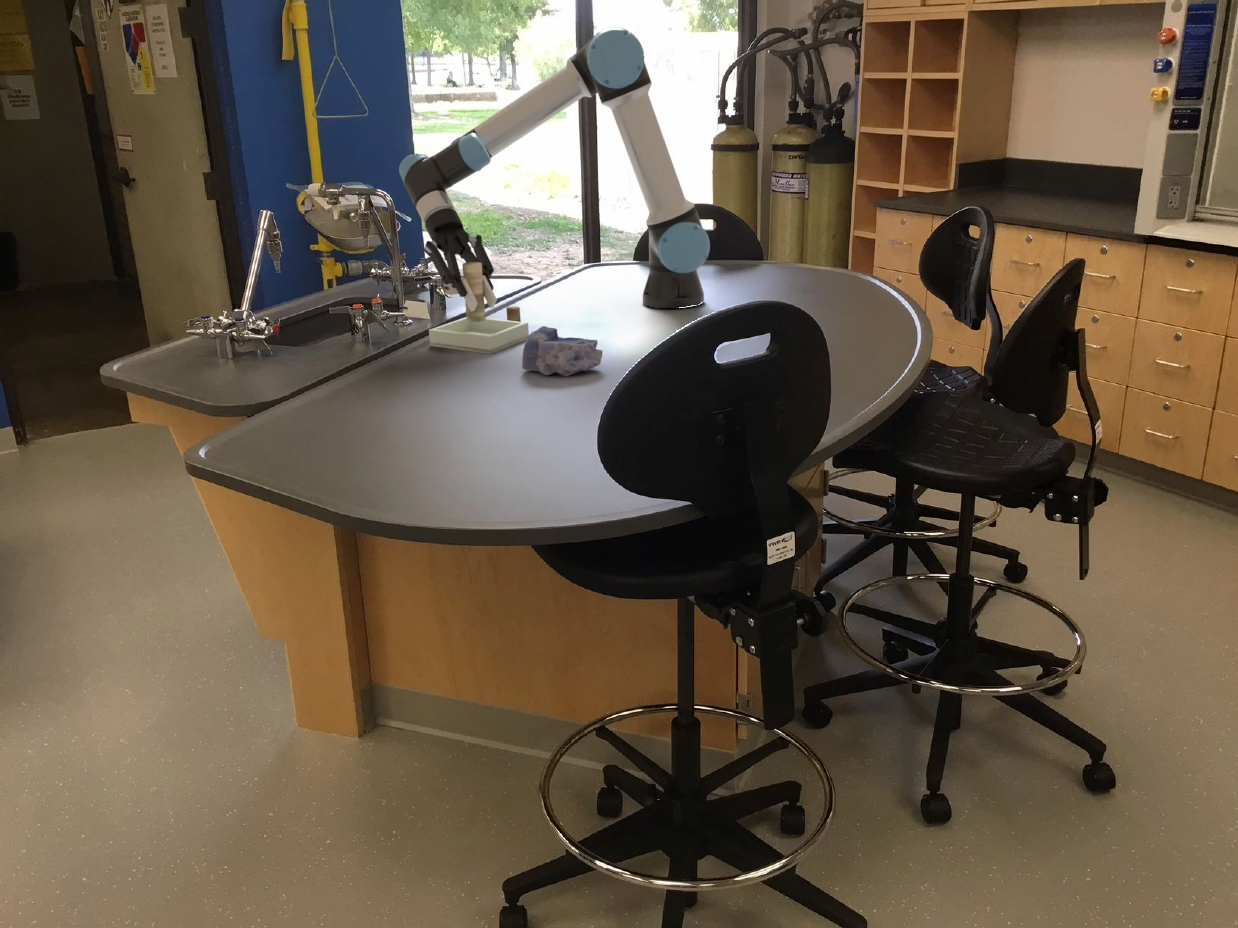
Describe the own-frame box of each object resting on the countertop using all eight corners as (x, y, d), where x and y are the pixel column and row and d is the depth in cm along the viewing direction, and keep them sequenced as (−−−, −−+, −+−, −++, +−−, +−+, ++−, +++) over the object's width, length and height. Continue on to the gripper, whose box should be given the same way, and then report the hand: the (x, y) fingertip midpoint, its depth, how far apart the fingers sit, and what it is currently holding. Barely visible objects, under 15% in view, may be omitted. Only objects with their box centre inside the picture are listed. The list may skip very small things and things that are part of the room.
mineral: (517, 330, 190) (541, 315, 198) (517, 377, 194) (540, 360, 202) (588, 344, 185) (609, 328, 194) (585, 392, 190) (606, 374, 198)
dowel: (489, 318, 217) (485, 262, 213) (477, 322, 214) (473, 266, 210) (474, 317, 219) (470, 261, 215) (462, 320, 216) (458, 264, 212)
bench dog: (523, 328, 229) (522, 307, 227) (516, 331, 226) (514, 309, 224) (512, 327, 230) (511, 305, 228) (505, 330, 228) (503, 308, 226)
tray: (529, 338, 220) (528, 322, 219) (490, 353, 209) (489, 337, 208) (470, 331, 228) (469, 316, 227) (430, 345, 217) (428, 329, 215)
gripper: (469, 225, 226) (512, 310, 220) (399, 233, 217) (443, 322, 211) (479, 203, 221) (524, 289, 214) (408, 210, 211) (453, 301, 205)
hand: (484, 305), depth 212 cm, fingers closed on dowel, 4 cm apart
